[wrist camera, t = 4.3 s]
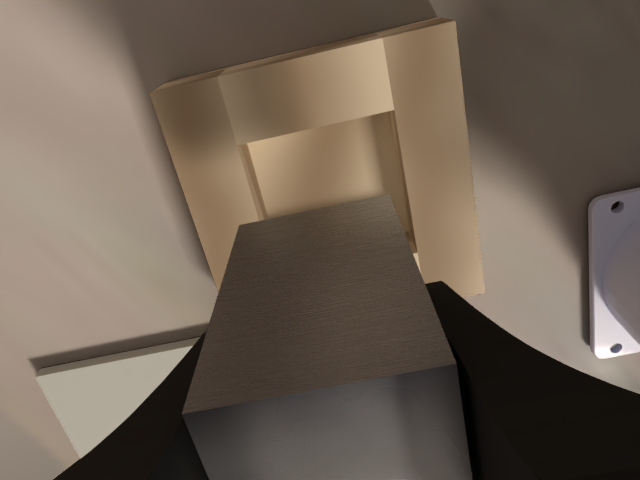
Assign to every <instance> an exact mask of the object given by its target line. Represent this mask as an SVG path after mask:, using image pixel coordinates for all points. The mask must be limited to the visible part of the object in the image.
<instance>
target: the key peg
mask: <svg viewBox="0 0 640 480" xmlns="http://www.w3.org/2000/svg"><path fill="white" fill-rule="evenodd" d="M182 416H183V419H184V421H185V423H186V426H187V428H188V430H189V433H190V435H191V438H192V440H193V442H194V445H195V447H196V449H197V452H198V454H199V457H200V459H201V461H202V464H203V466H204V468H205V471H206V473H207V476H208V478H209V480H472V473H471V466H470V459H469V451H468V444H467V437H466V429H465V422H464V415H463V407H462V400H461V393H460V385H459V378H458V371H457V363H456V361H455V358H454V356H453V353H452V351H451V348H450V346H449V343H448V341H447V338H446V336H445V333H444V331H443V328H442V326H441V323H440V321H439V318H438V316H437V313H436V311H435V308H434V305H433V303H432V300H431V298H430V295H429V293H428V290H427V288H426V285H425V283H424V280H423V278H422V275H421V273H420V270H419V268H418V265H417V263H416V260H415V258H414V255H413V253H412V250H411V248H410V245H409V243H408V240H407V237H406V235H405V232H404V230H403V227H402V225H401V222H400V220H399V217H398V215H397V212H396V210H395V207H394V205H393V202H392V200H391V197H390V195H389V194H385V195H381V196H376V197H371V198H366V199H361V200H357V201H352V202H347V203H342V204H338V205H333V206H328V207H323V208H318V209H314V210H309V211H304V212H299V213H295V214H290V215H285V216H280V217H275V218H271V219H266V220H261V221H256V222H251V223H247V224H242V225H239V227H238V230H237V234H236V237H235V240H234V243H233V247H232V250H231V253H230V257H229V260H228V263H227V267H226V270H225V273H224V276H223V280H222V283H221V286H220V290H219V293H218V296H217V299H216V303H215V306H214V309H213V313H212V316H211V319H210V323H209V326H208V329H207V332H206V336H205V339H204V342H203V346H202V349H201V352H200V355H199V359H198V362H197V365H196V369H195V372H194V375H193V379H192V382H191V385H190V388H189V392H188V395H187V398H186V402H185V405H184V408H183V411H182Z"/></svg>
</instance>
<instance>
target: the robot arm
mask: <svg viewBox="0 0 640 480" xmlns="http://www.w3.org/2000/svg"><path fill="white" fill-rule="evenodd" d="M617 201H619V205H618V207H617V208H616V209H613V210H611V206H612V205H613V204H614V203H615V202H617ZM588 232H589V302H590V349H591V352H592V353H593V354H594V355H595V356H596V357H597V358H600V359H604V358H610V357H615V356H621V355H626V354H631V353H637V352H640V187H639V188H634V189H629V190H625V191H620V192H615V193H610V194H605V195H601V196H598V197H596V198H594V199H593V200H592V201H591V203H590V204H589V208H588ZM425 285H426V288H427V290H428V293H429V295H430V298H431V300H432V303H433V305H434V308H435V311H436V313H437V316H438V318H439V321H440V323H441V326H442V328H443V331H444V333H445V336H446V338H447V341H448V343H449V346H450V348H451V351H452V353H453V356H454V358H455V361H456V363H457V371H458V378H459V385H460V393H461V400H462V407H463V415H464V422H465V429H466V437H467V444H468V451H469V459H470V466H471V473H472V480H640V394H638V393H635V392H632V391H629V390H626V389H623V388H621V387H618V386H615V385H612V384H610V383H607V382H605V381H602V380H600V379H597V378H595V377H593V376H590V375H588V374H585V373H583V372H580V371H578V370H576V369H574V368H572V367H569V366H567V365H565V364H563V363H561V362H559V361H557V360H555V359H553V358H551V357H549V356H547V355H545V354H544V353H542V352H540V351H538V350H536V349H534V348H532V347H531V346H529V345H527V344H526V343H524V342H522V341H521V340H519V339H518V338H516V337H514V336H513V335H511V334H510V333H508V332H507V331H505V330H504V329H503V328H501V327H500V326H498V325H497V324H495V323H494V322H493V321H491V320H490V319H489V318H487V317H486V316H485V315H483V314H482V313H481V312H479V311H478V310H477V309H475V308H474V307H473V306H472V305H470V304H469V303H468V302H467V301H466V300H464V299H463V298H462V297H461V296H460V295H458V294H457V293H456V292H455V291H454V290H453V289H452V288H450V287H449V286H448V285H447V284H446V283H444V282H443V281H437V282H432V283H427V284H425ZM206 332H207V330H206ZM206 332H205V333H204V334H203V335H202V336H201V337H200V338H199V340H198V341H197V342H196V343H195V344H194V345H193V347H192V348H191V349H190V350H189V351H188V353H187V354H186V355H185V356H184V357H183V358H182V360H181V361H180V362H179V363H178V364H177V365H176V366H175V368H174V369H173V370H172V371H171V372H170V373H169V375H168V376H167V377H166V378H165V379H164V380H163V381H162V383H161V384H160V385H159V386H158V387H157V388H156V389H155V390H154V391H153V392H152V393H151V394H150V395H149V396H148V397H147V398H146V399H145V400H144V401H143V402H142V404H141V405H140V406H139V407H138V408H137V409H136V410H135V411H134V412H133V413H132V414H131V415H130V416H129V417H128V418H127V419H126V420H125V421H124V422H123V423H121V424H120V425H119V426H118V427H117V428H116V429H115V430H114V431H113V432H112V433H110V434H109V435H108V436H107V437H106V438H105V439H104V440H102V441H101V442H100V443H99V444H98V445H97V446H96V447H94V448H93V449H92V450H91V451H90V452H88V453H87V454H86V455H84V456H83V457H82V458H81V459H79V460H78V461H77V462H75V463H74V464H73V465H71V466H70V467H69V468H68V469H66V470H65V471H64V472H63V473H61V474H60V475H58V476H57V477H56V478H55V479H53V480H209V478H208V476H207V473H206V471H205V468H204V466H203V464H202V461H201V459H200V457H199V454H198V452H197V449H196V447H195V445H194V442H193V440H192V438H191V435H190V433H189V430H188V428H187V426H186V423H185V421H184V419H183V416H182V411H183V408H184V405H185V402H186V398H187V395H188V392H189V388H190V385H191V382H192V379H193V375H194V372H195V369H196V365H197V362H198V359H199V355H200V352H201V349H202V346H203V342H204V339H205V336H206ZM616 343H617V345H616V346H615V347H612V348H611V346H612V345H614V344H616Z"/></svg>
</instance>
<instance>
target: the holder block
mask: <svg viewBox="0 0 640 480" xmlns="http://www.w3.org/2000/svg"><path fill="white" fill-rule="evenodd" d="M149 95H150V97H151V100H152V103H153V106H154V109H155V112H156V115H157V118H158V120H159V123H160V126H161V129H162V132H163V135H164V138H165V141H166V143H167V146H168V149H169V152H170V155H171V158H172V161H173V164H174V166H175V169H176V172H177V175H178V178H179V181H180V184H181V187H182V189H183V192H184V195H185V198H186V201H187V204H188V207H189V209H190V212H191V215H192V218H193V221H194V224H195V227H196V230H197V232H198V235H199V238H200V241H201V244H202V247H203V250H204V253H205V255H206V258H207V261H208V264H209V267H210V270H211V273H212V276H213V278H214V281H215V284H216V287H217V290H218V293H219V290H220V286H221V283H222V280H223V276H224V273H225V270H226V267H227V263H228V260H229V257H230V253H231V250H232V247H233V243H234V240H235V237H236V234H237V230H238V227H239V225H242V224H247V223H251V222H256V221H261V220H266V219H271V218H275V217H280V216H285V215H290V214H295V213H299V212H304V211H309V210H314V209H318V208H323V207H328V206H333V205H338V204H342V203H347V202H352V201H357V200H361V199H366V198H371V197H376V196H381V195H385V194H389V195H390V197H391V200H392V202H393V205H394V207H395V210H396V212H397V215H398V217H399V220H400V222H401V225H402V227H403V230H404V232H405V235H406V237H407V240H408V243H409V245H410V248H411V250H412V253H413V255H414V258H415V260H416V263H417V265H418V268H419V270H420V273H421V275H422V278H423V280H424V283H425V284H427V283H432V282H437V281H443V282H444V283H446V284H447V285H448V286H449V287H450V288H452V289H453V290H454V291H455V292H456V293H457V294H458V295H460V296H461V297H466V296H472V295H477V294H482V293H485V289H484V279H483V270H482V261H481V252H480V243H479V233H478V224H477V215H476V206H475V196H474V187H473V178H472V169H471V159H470V150H469V141H468V132H467V123H466V113H465V104H464V95H463V86H462V76H461V67H460V58H459V49H458V40H457V30H456V21H455V20H449V19H444V18H439V17H437V18H433V19H429V20H425V21H421V22H416V23H412V24H408V25H404V26H399V27H395V28H391V29H387V30H383V31H378V32H374V33H370V34H366V35H362V36H357V37H353V38H349V39H345V40H340V41H336V42H332V43H328V44H324V45H319V46H315V47H311V48H307V49H303V50H298V51H294V52H290V53H286V54H281V55H277V56H273V57H269V58H265V59H260V60H256V61H252V62H248V63H244V64H239V65H235V66H231V67H227V68H222V69H218V70H214V71H210V72H206V73H201V74H197V75H193V76H189V77H185V78H180V79H176V80H172V81H168V82H166V83H164V84H163V85H161V86H160V87H158V88H156V89H155V90H153V91H151V92H150V93H149Z"/></svg>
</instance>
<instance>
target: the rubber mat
mask: <svg viewBox="0 0 640 480" xmlns="http://www.w3.org/2000/svg"><path fill="white" fill-rule="evenodd" d="M199 338H200V337H197V338H192V339H187V340H182V341H177V342H172V343H167V344H162V345H157V346H152V347H147V348H142V349H137V350H132V351H127V352H122V353H117V354H112V355H107V356H102V357H97V358H92V359H87V360H82V361H77V362H72V363H67V364H62V365H57V366H52V367H47V368H42V369H40V371H39V372H38V373H37V375H36V376H35V378H36V380H37V382H38V384H39V385H40V387H41V389H42V391H43V393H44V394H45V396H46V398H47V400H48V402H49V403H50V405H51V407H52V409H53V411H54V412H55V414H56V416H57V418H58V420H59V421H60V423H61V425H62V427H63V429H64V430H65V432H66V434H67V436H68V438H69V439H70V441H71V443H72V445H73V447H74V448H75V450H76V452H77V454H78V456H79V457H80V459H81V458H82V457H83V456H84V455H86V454H87V453H88V452H90V451H91V450H92V449H93V448H94V447H96V446H97V445H98V444H99V443H100V442H101V441H102V440H104V439H105V438H106V437H107V436H108V435H109V434H110V433H112V432H113V431H114V430H115V429H116V428H117V427H118V426H119V425H120V424H121V423H123V422H124V421H125V420H126V419H127V418H128V417H129V416H130V415H131V414H132V413H133V412H134V411H135V410H136V409H137V408H138V407H139V406H140V405H141V404H142V402H143V401H144V400H145V399H146V398H147V397H148V396H149V395H150V394H151V393H152V392H153V391H154V390H155V389H156V388H157V387H158V386H159V385H160V384H161V383H162V381H163V380H164V379H165V378H166V377H167V376H168V375H169V373H170V372H171V371H172V370H173V369H174V368H175V366H176V365H177V364H178V363H179V362H180V361H181V360H182V358H183V357H184V356H185V355H186V354H187V353H188V351H189V350H190V349H191V348H192V347H193V345H194V344H195V343H196V342H197V341H198V340H199Z"/></svg>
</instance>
